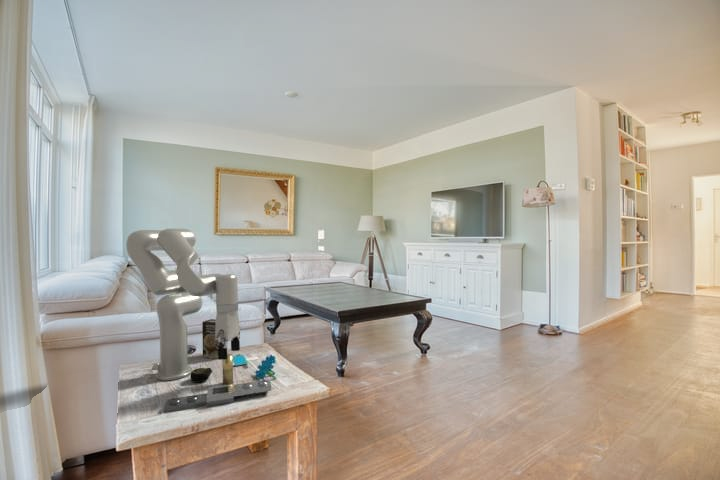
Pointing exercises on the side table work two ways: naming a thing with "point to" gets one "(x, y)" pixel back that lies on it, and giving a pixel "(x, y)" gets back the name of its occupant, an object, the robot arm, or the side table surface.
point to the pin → (228, 370)
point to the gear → (266, 368)
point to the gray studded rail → (218, 395)
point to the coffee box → (210, 339)
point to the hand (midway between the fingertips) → (229, 354)
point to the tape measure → (200, 374)
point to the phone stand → (242, 360)
